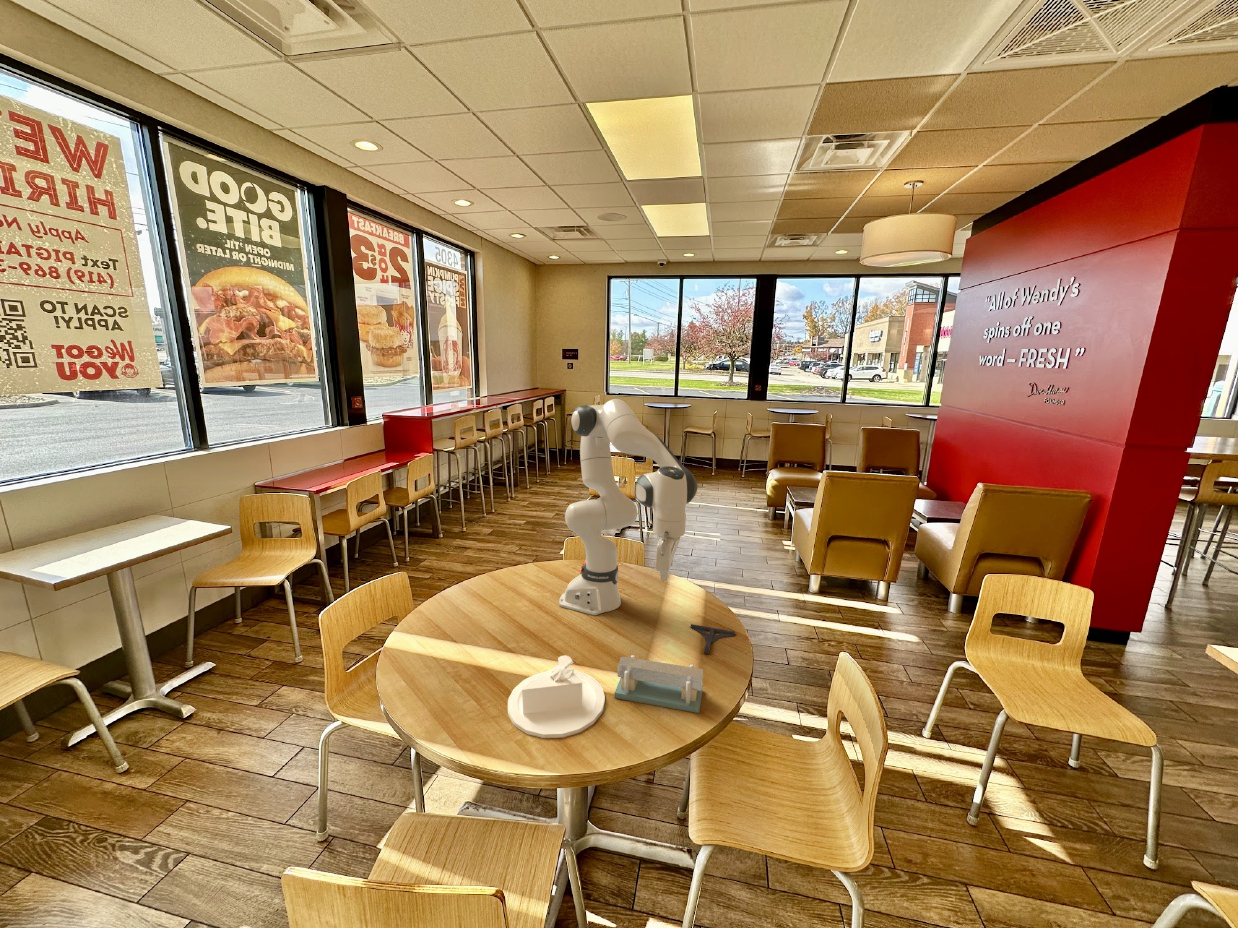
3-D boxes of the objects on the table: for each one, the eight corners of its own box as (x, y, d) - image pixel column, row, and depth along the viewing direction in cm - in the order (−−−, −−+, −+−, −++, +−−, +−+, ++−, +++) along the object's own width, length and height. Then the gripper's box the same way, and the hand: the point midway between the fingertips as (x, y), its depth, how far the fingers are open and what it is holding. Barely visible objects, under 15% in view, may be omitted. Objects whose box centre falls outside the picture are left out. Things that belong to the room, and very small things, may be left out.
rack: (614, 697, 130) (614, 672, 128) (622, 676, 138) (623, 652, 136) (699, 712, 124) (700, 686, 123) (702, 690, 133) (703, 665, 131)
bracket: (682, 651, 151) (682, 643, 151) (691, 627, 165) (691, 619, 164) (730, 661, 147) (730, 653, 146) (735, 635, 161) (735, 627, 160)
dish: (576, 663, 145) (576, 628, 142) (622, 714, 124) (623, 674, 122) (494, 692, 132) (492, 654, 129) (530, 754, 111) (529, 710, 109)
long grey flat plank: (617, 676, 131) (617, 664, 130) (621, 667, 135) (621, 656, 134) (701, 690, 126) (701, 678, 125) (702, 680, 129) (703, 669, 129)
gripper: (675, 541, 125) (672, 591, 129) (685, 515, 145) (682, 558, 148) (650, 538, 127) (648, 587, 130) (663, 513, 146) (661, 556, 149)
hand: (666, 572), depth 139 cm, fingers open, 8 cm apart
